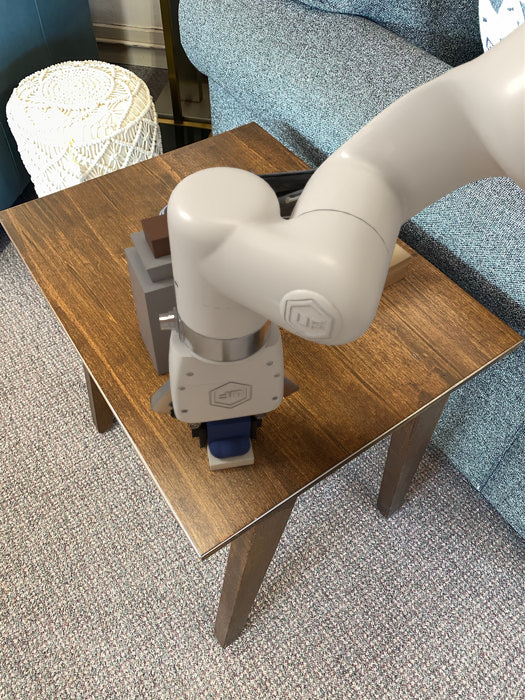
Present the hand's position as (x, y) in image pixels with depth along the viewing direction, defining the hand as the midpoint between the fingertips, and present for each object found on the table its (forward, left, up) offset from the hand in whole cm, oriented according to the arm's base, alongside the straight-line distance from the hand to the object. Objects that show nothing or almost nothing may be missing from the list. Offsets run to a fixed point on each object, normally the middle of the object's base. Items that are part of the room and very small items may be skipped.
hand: (226, 431), depth 60 cm
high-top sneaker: (0, 0, -1) cm, 1 cm away
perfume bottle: (+9, -10, -1) cm, 13 cm away
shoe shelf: (-8, -30, -1) cm, 31 cm away
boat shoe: (+7, -34, -1) cm, 35 cm away
